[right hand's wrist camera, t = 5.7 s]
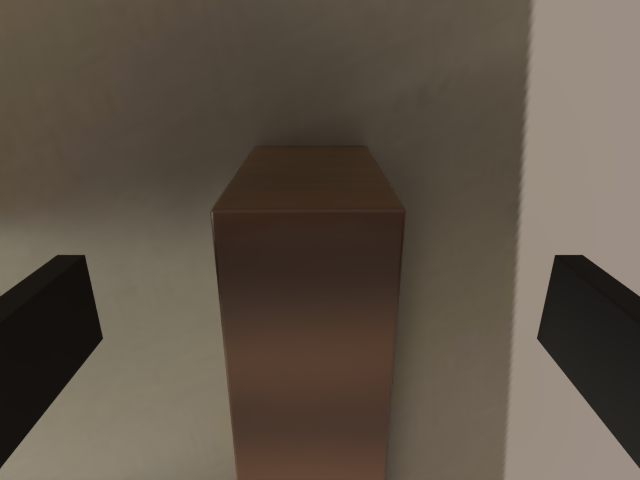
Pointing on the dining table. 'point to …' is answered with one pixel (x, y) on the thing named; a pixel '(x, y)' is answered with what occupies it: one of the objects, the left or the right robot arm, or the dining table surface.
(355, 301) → the walnut bar
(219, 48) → the dining table surface
